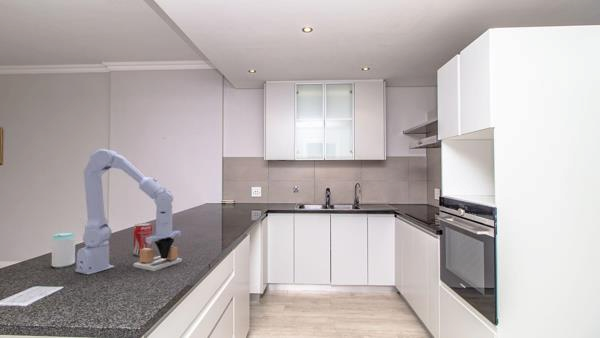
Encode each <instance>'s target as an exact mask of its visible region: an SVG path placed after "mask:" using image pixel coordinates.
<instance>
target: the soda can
mask: <svg viewBox="0 0 600 338" xmlns="http://www.w3.org/2000/svg"><path fill="white" fill-rule="evenodd" d="M150 236H153V227H152V223H150V222H141V223H136V224H134V227H133V254H134V255H135V256H136V257H140V249H143V248H151V249H153V242H152V243H146V238H147V237H150Z"/></svg>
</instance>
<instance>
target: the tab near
mask: <svg viewBox="0 0 600 338" xmlns="http://www.w3.org/2000/svg"><path fill="white" fill-rule="evenodd" d="M178 248H179V247H178V246H174V245H171V247H170V250H169V253H168V257H167V258H166V259H167V260H174V259H177V258H179V257H178Z"/></svg>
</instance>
